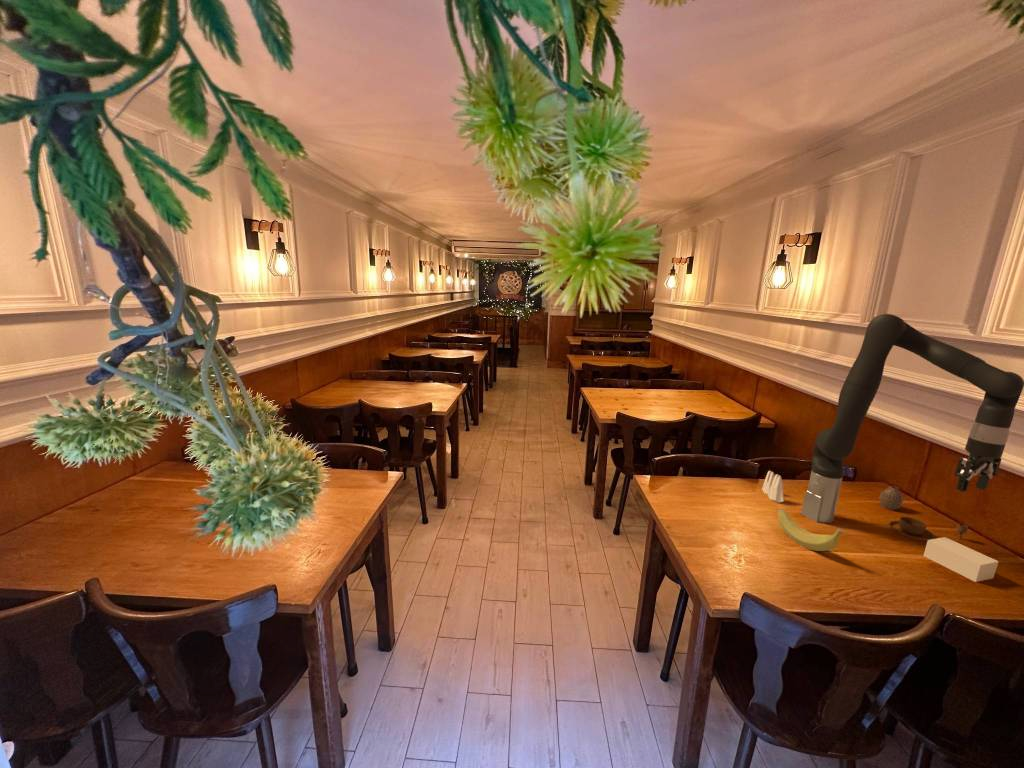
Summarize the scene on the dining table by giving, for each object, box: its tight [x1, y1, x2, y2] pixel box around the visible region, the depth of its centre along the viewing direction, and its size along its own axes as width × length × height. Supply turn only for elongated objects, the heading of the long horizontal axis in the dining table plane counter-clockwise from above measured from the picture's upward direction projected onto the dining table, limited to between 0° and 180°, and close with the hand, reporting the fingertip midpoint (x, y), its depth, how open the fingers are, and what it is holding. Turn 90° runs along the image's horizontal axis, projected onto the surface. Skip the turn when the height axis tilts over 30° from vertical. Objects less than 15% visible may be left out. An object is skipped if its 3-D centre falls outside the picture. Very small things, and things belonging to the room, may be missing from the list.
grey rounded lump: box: [878, 485, 904, 511], centre depth 170 cm, size 7×7×9 cm
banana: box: [777, 507, 845, 552], centre depth 140 cm, size 14×6×20 cm
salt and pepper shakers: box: [761, 470, 785, 504], centre depth 174 cm, size 12×4×11 cm, turn 170°
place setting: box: [888, 516, 969, 546], centre depth 150 cm, size 18×20×6 cm
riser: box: [923, 536, 999, 583], centre depth 133 cm, size 8×13×6 cm, turn 16°
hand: (970, 489), depth 131 cm, fingers open, 8 cm apart
